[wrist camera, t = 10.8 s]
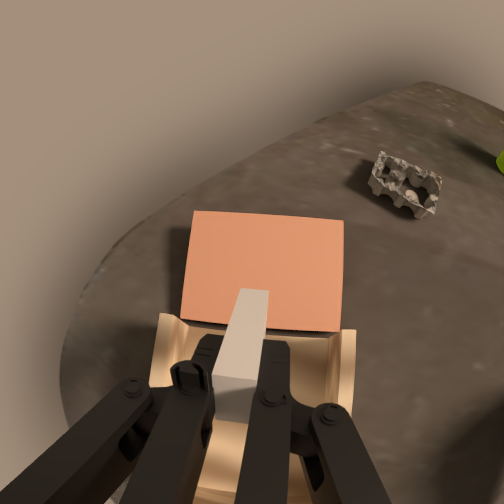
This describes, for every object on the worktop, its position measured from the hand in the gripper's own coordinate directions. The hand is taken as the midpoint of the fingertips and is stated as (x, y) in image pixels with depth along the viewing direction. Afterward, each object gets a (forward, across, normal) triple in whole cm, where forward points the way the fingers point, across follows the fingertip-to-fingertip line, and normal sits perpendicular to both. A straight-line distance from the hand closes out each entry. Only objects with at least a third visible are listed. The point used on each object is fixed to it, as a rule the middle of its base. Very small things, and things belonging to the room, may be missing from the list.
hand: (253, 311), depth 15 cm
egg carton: (+25, +18, +5) cm, 32 cm away
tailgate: (+10, 0, -8) cm, 13 cm away
